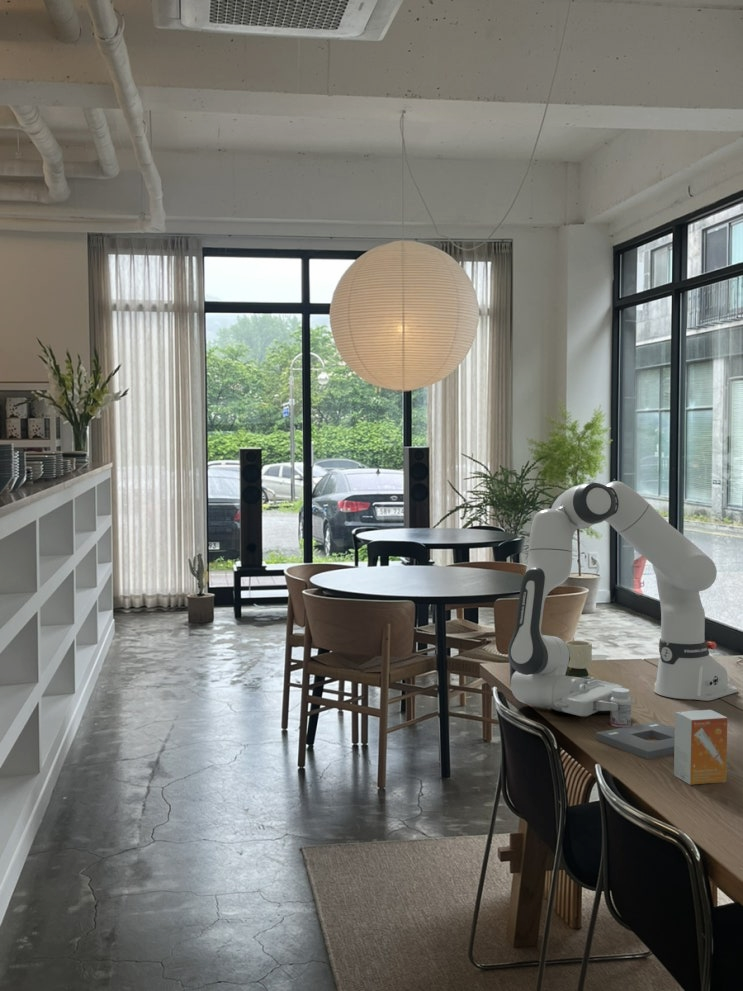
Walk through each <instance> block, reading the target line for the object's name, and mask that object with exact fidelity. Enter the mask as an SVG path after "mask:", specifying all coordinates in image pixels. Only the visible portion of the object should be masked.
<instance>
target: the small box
mask: <svg viewBox="0 0 743 991" xmlns="http://www.w3.org/2000/svg"><path fill="white" fill-rule="evenodd" d="M674 728H675V747H674V754H673V755H674V756H673V757H674V758H673V760H674V761H673V763H674V764H673V774H674V776H675V777H677V778H678V779H680V780H681V781H683V782H684V783H685V784H688V785H690V786H691V785H703V784H716V783H717V784H718V783H726V782H727V763H728V761H727V757H728V756H727V755H728V717H727V716H725V715H723V714H721V713H719V712H717V711H715V710H712V709H702V710H687V711H675V712H674Z"/></svg>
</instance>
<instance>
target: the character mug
mask: <svg viewBox="0 0 743 991" xmlns="http://www.w3.org/2000/svg"><path fill="white" fill-rule="evenodd" d="M565 643H566V644H567V646H568V648H569V652H570V659H569V664H568V667H570V669H569V671H568V675H567V676H571V677H572V676H573V677H587V676H589V671H588V669H589V668H591V667H592V664H593V662H592V660H593V659H592V658H593V654H592V653H593V644H592V642H589V641H586V640H568V641H565Z"/></svg>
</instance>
